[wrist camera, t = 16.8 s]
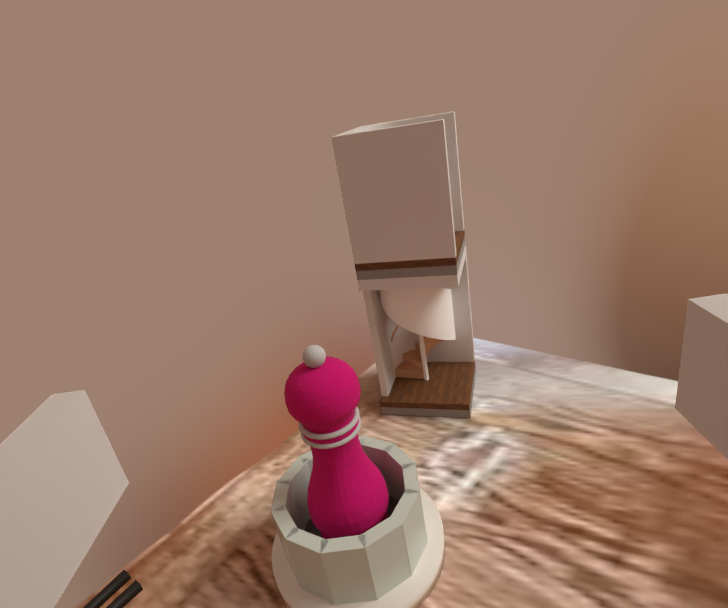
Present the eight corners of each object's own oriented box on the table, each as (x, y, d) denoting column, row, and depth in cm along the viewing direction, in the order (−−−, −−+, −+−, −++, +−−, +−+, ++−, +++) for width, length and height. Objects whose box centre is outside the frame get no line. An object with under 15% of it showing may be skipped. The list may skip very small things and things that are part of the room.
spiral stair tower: (382, 414, 62) (331, 137, 48) (398, 370, 71) (360, 126, 57) (470, 417, 58) (443, 119, 45) (475, 370, 68) (454, 111, 54)
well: (431, 472, 51) (424, 417, 48) (460, 623, 37) (452, 556, 34) (288, 492, 52) (271, 438, 49) (260, 646, 37) (234, 583, 34)
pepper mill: (303, 537, 44) (247, 354, 36) (359, 491, 48) (320, 317, 40) (352, 586, 39) (300, 384, 31) (411, 529, 43) (378, 338, 35)
